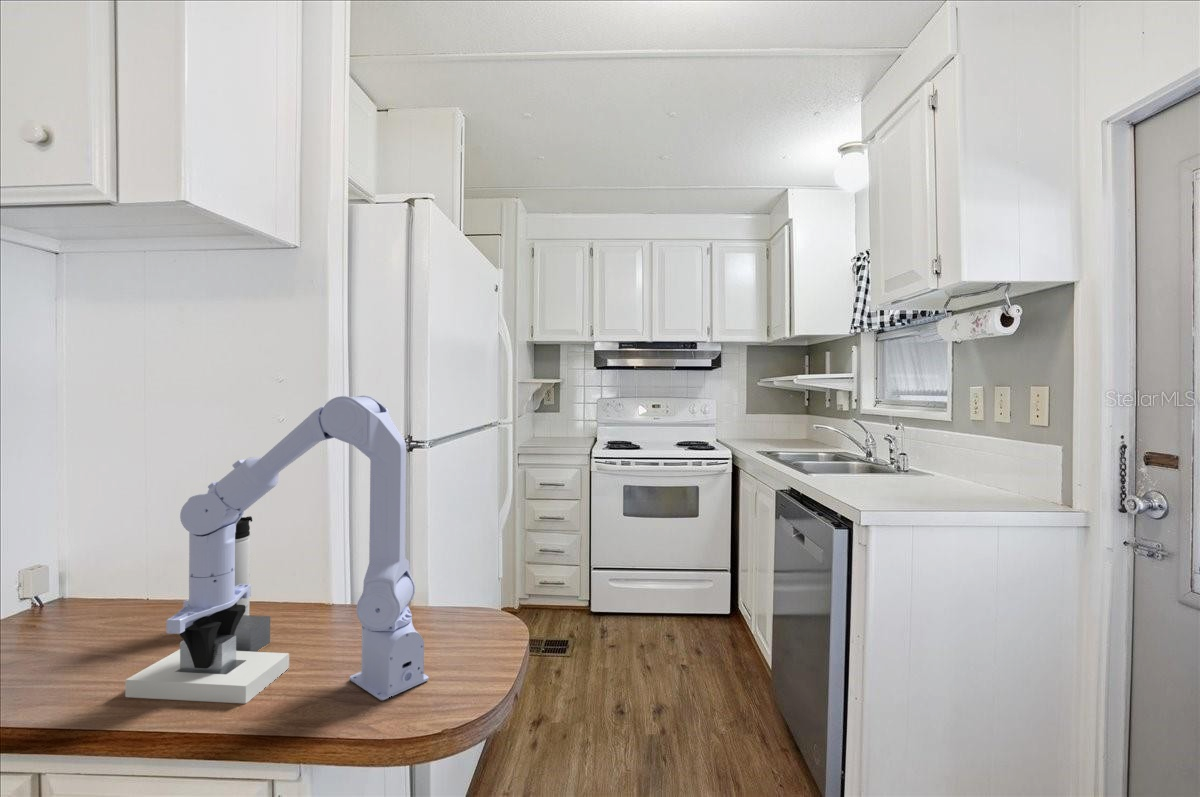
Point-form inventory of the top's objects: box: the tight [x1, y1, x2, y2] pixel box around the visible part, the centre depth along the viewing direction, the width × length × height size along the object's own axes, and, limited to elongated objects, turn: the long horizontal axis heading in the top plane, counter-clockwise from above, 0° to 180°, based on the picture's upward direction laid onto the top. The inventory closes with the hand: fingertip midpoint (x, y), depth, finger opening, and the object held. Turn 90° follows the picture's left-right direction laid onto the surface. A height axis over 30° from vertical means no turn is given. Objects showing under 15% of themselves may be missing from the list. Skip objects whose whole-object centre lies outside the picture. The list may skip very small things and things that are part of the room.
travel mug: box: [235, 515, 253, 615], centre depth 106 cm, size 6×7×20 cm
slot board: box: [124, 648, 290, 704], centre depth 85 cm, size 18×10×2 cm, turn 86°
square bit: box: [234, 614, 271, 652], centre depth 96 cm, size 5×5×5 cm
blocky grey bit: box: [179, 634, 236, 674], centre depth 85 cm, size 6×3×6 cm, turn 86°
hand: (211, 661), depth 85 cm, fingers closed on blocky grey bit, 3 cm apart
